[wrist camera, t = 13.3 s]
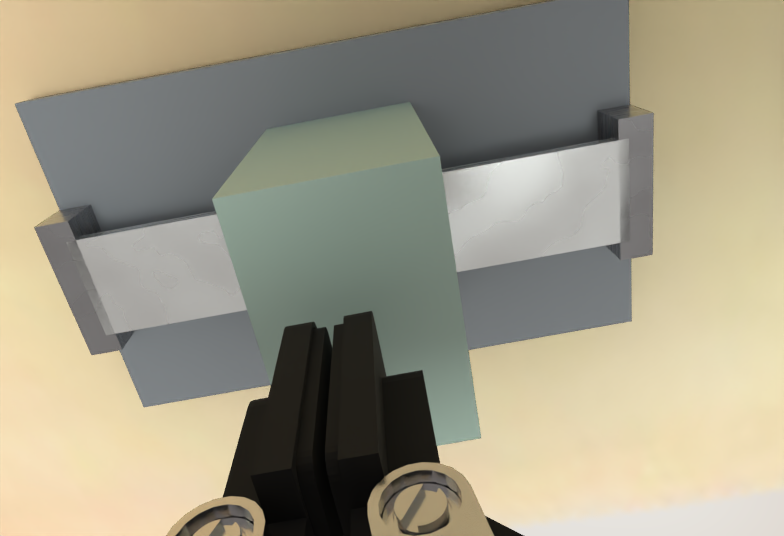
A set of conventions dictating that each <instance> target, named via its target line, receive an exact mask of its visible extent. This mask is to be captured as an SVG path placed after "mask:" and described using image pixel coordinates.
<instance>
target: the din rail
mask: <svg viewBox="0 0 784 536" xmlns="http://www.w3.org/2000/svg"><path fill="white" fill-rule="evenodd" d="M653 116H654V113H653V112H650V111H647V110H644V109H641V108H638V107H635V106H632V105H624V106H619V107H614V108H608V109H603V110H597V117H598V140H597V141H592V142H586V143H581V144H576V145H570V146H565V147H559V148H554V149H548V150H543V151H538V152H532V153H527V154H521V155H516V156H510V157H505V158H500V159H494V160H489V161H483V162H478V163H472V164H467V165H462V166H456V167H451V168H445V169H442V175H443V182H444V188H445V195H446V202H447V209H448V216H449V223H450V229H451V236H452V243H453V250H454V257H455V263H456V270H457V272H461V271H466V270H472V269H477V268H483V267H488V266H494V265H500V264H505V263H511V262H516V261H522V260H527V259H533V258H538V257H544V256H550V255H555V254H561V253H566V252H572V251H577V250H583V249H588V248H594V247H600V246H606V247H607V248H608V249H609V250H610V251H611V252H612V253H613V254H615V255H616V256H617V257H618V258H619V259H620V260H625V259H631V258H637V257H642V256H648V255H652V253H653ZM34 228H35V231H36V233H37V235H38V237H39V239H40V242H41V244H42V246H43V248H44V251H45V253H46V255H47V257H48V259H49V262H50V264H51V266H52V268H53V271H54V273H55V275H56V277H57V279H58V282H59V284H60V286H61V288H62V290H63V293H64V295H65V297H66V299H67V302H68V304H69V306H70V308H71V310H72V313H73V315H74V317H75V319H76V322H77V324H78V326H79V328H80V330H81V333H82V335H83V337H84V339H85V342H86V344H87V346H88V348H89V350H90V353H91V355H96V354H101V353H107V352H112V351H118V350H122V349H123V348H124V346H125V345H126V343H127V342H128V341H129V339H130V338H131V336H132V335H133V333H134V332H135V331H136V330H138V329H144V328H150V327H155V326H161V325H166V324H172V323H177V322H183V321H188V320H194V319H200V318H205V317H211V316H216V315H222V314H227V313H233V312H238V311H244V310H247V308H246V305H245V302H244V299H243V296H242V292H241V289H240V286H239V283H238V280H237V277H236V273H235V270H234V267H233V264H232V261H231V258H230V254H229V251H228V248H227V245H226V242H225V239H224V236H223V232H222V229H221V226H220V223H219V220H218V217H217V213H216V211H212V212H207V213H201V214H196V215H190V216H185V217H179V218H174V219H169V220H163V221H158V222H152V223H147V224H141V225H136V226H131V227H125V228H120V229H114V230H109V231H103V232H102V231H101V228H100V226H99V223H98V221H97V218H96V216H95V214H94V211H93V209H92V206H91V205H85V206H80V207H74V208H69V209H64V210H59V211H58V212H56V213H55V214H53V215H52V216H50V217H49V218H47V219H46V220H44V221H43V222H41V223H40V224H38V225H37V226H35V227H34Z"/></svg>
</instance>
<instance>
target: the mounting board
mask: <svg viewBox="0 0 784 536" xmlns="http://www.w3.org/2000/svg"><path fill="white" fill-rule="evenodd" d="M406 102H410V103H411V105H412V107H413V108H414V110H415V112H416V114H417V116H418V117H419V119H420V121H421V123H422V125H423V127H424V128H425V130H426V132H427V134H428V136H429V137H430V139H431V141H432V143H433V145H434V146H435V148H436V150H437V152H438V154H439V156H440V161H441V168H442V169H445V168H451V167H456V166H462V165H467V164H472V163H478V162H483V161H489V160H494V159H500V158H505V157H510V156H516V155H521V154H527V153H532V152H538V151H543V150H548V149H554V148H559V147H565V146H570V145H576V144H581V143H586V142H592V141H597V140H598V117H597V110H603V109H608V108H614V107H619V106H624V105H630V87H629V0H550V1H545V2H540V3H535V4H529V5H524V6H519V7H514V8H508V9H503V10H498V11H493V12H487V13H482V14H477V15H472V16H466V17H461V18H456V19H451V20H445V21H440V22H435V23H430V24H424V25H419V26H414V27H408V28H403V29H398V30H393V31H387V32H382V33H377V34H372V35H366V36H361V37H356V38H351V39H345V40H340V41H335V42H330V43H324V44H319V45H314V46H309V47H303V48H298V49H293V50H288V51H282V52H277V53H272V54H267V55H261V56H256V57H251V58H246V59H240V60H235V61H230V62H225V63H219V64H214V65H209V66H204V67H198V68H193V69H188V70H182V71H177V72H172V73H167V74H161V75H156V76H151V77H146V78H140V79H135V80H130V81H125V82H119V83H114V84H109V85H104V86H98V87H93V88H88V89H83V90H77V91H72V92H67V93H62V94H56V95H51V96H46V97H41V98H35V99H31V100H27V101H23V102H20V103H16V104H15V106H16V108H17V111H18V113H19V115H20V118H21V120H22V122H23V125H24V127H25V129H26V132H27V134H28V136H29V139H30V141H31V144H32V146H33V148H34V151H35V153H36V155H37V158H38V160H39V162H40V165H41V167H42V169H43V172H44V174H45V176H46V179H47V181H48V183H49V186H50V188H51V190H52V193H53V195H54V198H55V200H56V202H57V205H58V207H59V209H60V210H64V209H69V208H74V207H80V206H85V205H91V206H92V209H93V211H94V214H95V216H96V218H97V221H98V223H99V226H100V228H101V231H102V232H103V231H109V230H114V229H120V228H125V227H131V226H136V225H141V224H147V223H152V222H158V221H163V220H169V219H174V218H179V217H185V216H190V215H196V214H201V213H207V212H212V211H216V210H215V207H214V204H213V201H212V198H213V197H214V196H215V194H216V193H217V192H218V191H219V189H220V188H221V187H222V185H223V184H224V183H225V182H226V180H227V179H228V178H229V177H230V175H231V174H232V173H233V171H234V170H235V169H236V168H237V166H238V165H239V164H240V162H241V161H242V160H243V159H244V157H245V156H246V155H247V154H248V152H249V151H250V150H251V148H252V147H253V146H254V145H255V143H256V142H257V141H258V139H259V138H260V137H261V136H262V134H263V133H264V132H265V131H266V129H270V128H275V127H280V126H285V125H291V124H296V123H301V122H306V121H312V120H317V119H322V118H327V117H332V116H338V115H343V114H348V113H353V112H359V111H364V110H369V109H374V108H380V107H385V106H390V105H395V104H400V103H406ZM457 277H458V284H459V291H460V297H461V304H462V311H463V318H464V325H465V332H466V338H467V345H468V350H471V349H477V348H482V347H488V346H494V345H499V344H505V343H511V342H516V341H522V340H527V339H533V338H539V337H544V336H550V335H556V334H561V333H567V332H573V331H578V330H584V329H590V328H595V327H601V326H607V325H612V324H618V323H624V322H629V321H632V311H631V259H625V260H620V259H619V258H618V257H617V256H616V255H615V254H613V253H612V252H611V251H610V250H609V249H608V248H607V247H606V246H600V247H594V248H588V249H583V250H577V251H572V252H566V253H561V254H555V255H550V256H544V257H538V258H533V259H527V260H522V261H516V262H511V263H505V264H500V265H494V266H488V267H483V268H477V269H472V270H466V271H461V272H457ZM120 353H121V355H122V357H123V360H124V362H125V364H126V367H127V369H128V371H129V374H130V376H131V378H132V381H133V383H134V385H135V388H136V390H137V392H138V395H139V397H140V399H141V402H142V404H143V407H148V406H154V405H160V404H165V403H171V402H177V401H182V400H188V399H194V398H199V397H205V396H211V395H216V394H222V393H228V392H233V391H239V390H245V389H250V388H256V387H262V386H267V385H271V384H270V381H269V378H268V375H267V371H266V368H265V365H264V362H263V359H262V356H261V352H260V349H259V346H258V343H257V340H256V337H255V333H254V330H253V327H252V324H251V321H250V318H249V315H248V311H247V310H244V311H238V312H233V313H227V314H222V315H216V316H211V317H205V318H200V319H194V320H188V321H183V322H177V323H172V324H166V325H161V326H155V327H150V328H144V329H138V330H136V331H135V332H134V333H133V335H132V336H131V338H130V339H129V341H128V342H127V343H126V345H125V346H124V348H123V349H122V350H120Z"/></svg>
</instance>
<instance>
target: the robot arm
mask: <svg viewBox="0 0 784 536" xmlns="http://www.w3.org/2000/svg"><path fill="white" fill-rule="evenodd" d="M166 536H523V535H521V534H519V533H517V532H515V531H514V530H512V529H510V528H508V527H506V526H504V525H502V524H500V523H498V522H496V521H494V520H492V519H490V518H488V517H486V516H485V515H484V513H483V511H482V509H481V506H480V504H479V502H478V500H477V498H476V496H475V494H474V491H473V489H472V487H471V485H470V484H469V482H468V481H467V480H466V478H465V477H464V475H462V474H461V473H459V472H458V471H457V470H455V469H454V468H452V467H449V466H446V465H443V464H440V461H439V456H438V450H437V445H436V440H435V434H434V429H433V424H432V418H431V413H430V408H429V402H428V397H427V391H426V386H425V381H424V375H423V370H419V371H414V372H408V373H402V374H397V375H391V376H386V372H385V367H384V362H383V357H382V353H381V348H380V343H379V339H378V334H377V329H376V324H375V320H374V316H373V312H372V311H368V312H363V313H358V314H352V315H347V316H344V318H343V324H338V325H334V331H333V345H331V341H330V337H329V333H328V330H327V328H326V327H322V328H317V326H316V324H315V322H308V323H303V324H297V325H292V326H286V327H285V328H284V332H283V336H282V341H281V345H280V349H279V354H278V358H277V362H276V366H275V371H274V375H273V379H272V384H271V388H270V392H269V397H268V398H264V399H258V400H253V401H251V402H250V404H249V406H248V409H247V412H246V416H245V419H244V423H243V427H242V430H241V434H240V437H239V441H238V445H237V448H236V452H235V455H234V459H233V463H232V466H231V470H230V473H229V477H228V481H227V484H226V488H225V491H224V495H223V498H218V499H214V500H212V501H209V502H207V503H204V504H202V505H199V506H198V507H196V508H195V509H193V510H192V511H190V512H188V513H187V514H185V515H184V516H183V517H182V518H181V519H180V520H179V521H178V522H177V523H176V524H175V525H174V526H172V528H171V529H170V531H169V532H168V534H167V535H166Z"/></svg>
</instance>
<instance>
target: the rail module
mask: <svg viewBox="0 0 784 536" xmlns="http://www.w3.org/2000/svg"><path fill="white" fill-rule="evenodd" d="M212 201H213V204H214V207H215V210H216V213H217V217H218V220H219V223H220V226H221V229H222V232H223V236H224V239H225V242H226V245H227V248H228V251H229V254H230V258H231V261H232V264H233V267H234V270H235V273H236V277H237V280H238V283H239V286H240V289H241V292H242V296H243V299H244V302H245V305H246V308H247V311H248V315H249V318H250V321H251V324H252V327H253V330H254V333H255V337H256V340H257V343H258V346H259V349H260V352H261V356H262V359H263V362H264V365H265V368H266V371H267V375H268V378H269V381H270V384H272V379H273V375H274V371H275V366H276V362H277V358H278V354H279V349H280V345H281V341H282V336H283V332H284V328H285V327H286V326H292V325H297V324H303V323H308V322H315V324H316V326H317V328H322V327H326V328H327V330H328V333H329V337H330V341H331V345H333V331H334V325H338V324H343V318H344V316H347V315H352V314H358V313H363V312H368V311H372V312H373V316H374V320H375V324H376V329H377V334H378V339H379V343H380V348H381V353H382V357H383V362H384V367H385V372H386V376H391V375H397V374H402V373H408V372H414V371H419V370H423V375H424V381H425V386H426V391H427V397H428V402H429V408H430V413H431V418H432V424H433V429H434V434H435V440H436V445H437V446H439V445H445V444H450V443H456V442H462V441H467V440H473V439H479V438H481V434H480V427H479V420H478V413H477V407H476V400H475V393H474V386H473V379H472V372H471V366H470V359H469V352H468V345H467V338H466V332H465V325H464V318H463V311H462V304H461V297H460V291H459V284H458V277H457V270H456V263H455V257H454V250H453V243H452V236H451V229H450V223H449V216H448V209H447V202H446V195H445V188H444V182H443V175H442V168H441V161H440V156H439V154H438V152H437V150H436V148H435V146H434V145H433V143H432V141H431V139H430V137H429V136H428V134H427V132H426V130H425V128H424V127H423V125H422V123H421V121H420V119H419V117H418V116H417V114H416V112H415V110H414V108H413V107H412V105H411V103H410V102H406V103H400V104H395V105H390V106H385V107H380V108H374V109H369V110H364V111H359V112H353V113H348V114H343V115H338V116H332V117H327V118H322V119H317V120H312V121H306V122H301V123H296V124H291V125H285V126H280V127H275V128H270V129H266V131H265V132H264V133H263V134H262V136H261V137H260V138H259V139H258V141H257V142H256V143H255V145H254V146H253V147H252V148H251V150H250V151H249V152H248V154H247V155H246V156H245V157H244V159H243V160H242V161H241V162H240V164H239V165H238V166H237V168H236V169H235V170H234V171H233V173H232V174H231V175H230V177H229V178H228V179H227V180H226V182H225V183H224V184H223V185H222V187H221V188H220V189H219V191H218V192H217V193H216V194H215V196H214V197H213V198H212Z"/></svg>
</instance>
